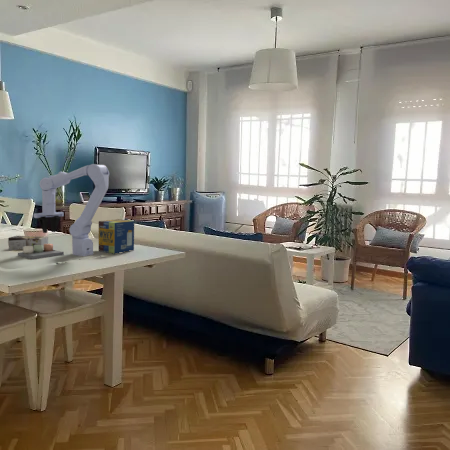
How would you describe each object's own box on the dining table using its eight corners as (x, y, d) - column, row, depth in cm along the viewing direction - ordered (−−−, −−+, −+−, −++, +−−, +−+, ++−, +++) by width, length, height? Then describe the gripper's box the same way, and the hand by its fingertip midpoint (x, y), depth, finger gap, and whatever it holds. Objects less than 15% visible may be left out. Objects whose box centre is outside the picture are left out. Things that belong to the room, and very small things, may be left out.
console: (63, 257, 208) (63, 251, 208) (33, 261, 196) (33, 255, 196) (48, 253, 215) (48, 248, 215) (18, 257, 203) (17, 252, 203)
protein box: (98, 252, 224) (97, 221, 223) (118, 248, 238) (119, 218, 236) (114, 254, 219) (114, 222, 218) (134, 250, 233) (134, 220, 231)
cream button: (35, 253, 203) (34, 246, 203) (26, 254, 200) (26, 247, 199) (29, 252, 205) (29, 245, 205) (21, 253, 202) (21, 246, 202)
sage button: (45, 251, 207) (45, 245, 207) (37, 253, 204) (36, 246, 203) (40, 250, 209) (39, 244, 209) (32, 251, 206) (31, 245, 206)
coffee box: (41, 238, 220) (7, 237, 220) (41, 251, 221) (8, 250, 221) (48, 236, 229) (16, 235, 229) (48, 248, 230) (16, 247, 230)
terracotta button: (54, 250, 211) (54, 244, 211) (47, 251, 208) (47, 245, 207) (49, 249, 213) (49, 243, 213) (42, 250, 210) (41, 244, 210)
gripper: (57, 202, 220) (57, 230, 222) (29, 203, 208) (30, 232, 210) (66, 203, 216) (66, 231, 218) (38, 204, 204) (38, 234, 206)
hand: (49, 232), depth 213 cm, fingers open, 4 cm apart
